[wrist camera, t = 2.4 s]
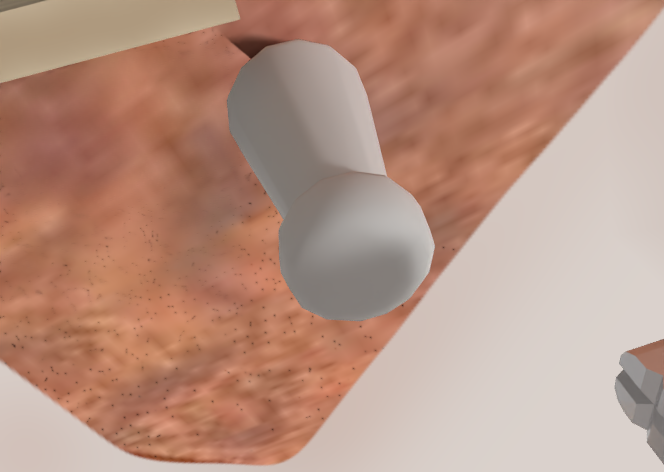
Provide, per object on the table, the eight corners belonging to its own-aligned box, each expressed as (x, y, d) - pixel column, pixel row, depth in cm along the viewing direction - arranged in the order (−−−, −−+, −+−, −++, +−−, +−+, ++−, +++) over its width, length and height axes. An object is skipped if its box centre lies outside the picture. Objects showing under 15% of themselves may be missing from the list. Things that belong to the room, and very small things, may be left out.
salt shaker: (243, 161, 26) (282, 377, 16) (205, 43, 23) (225, 224, 12) (361, 130, 27) (472, 322, 16) (342, 8, 23) (470, 158, 13)
